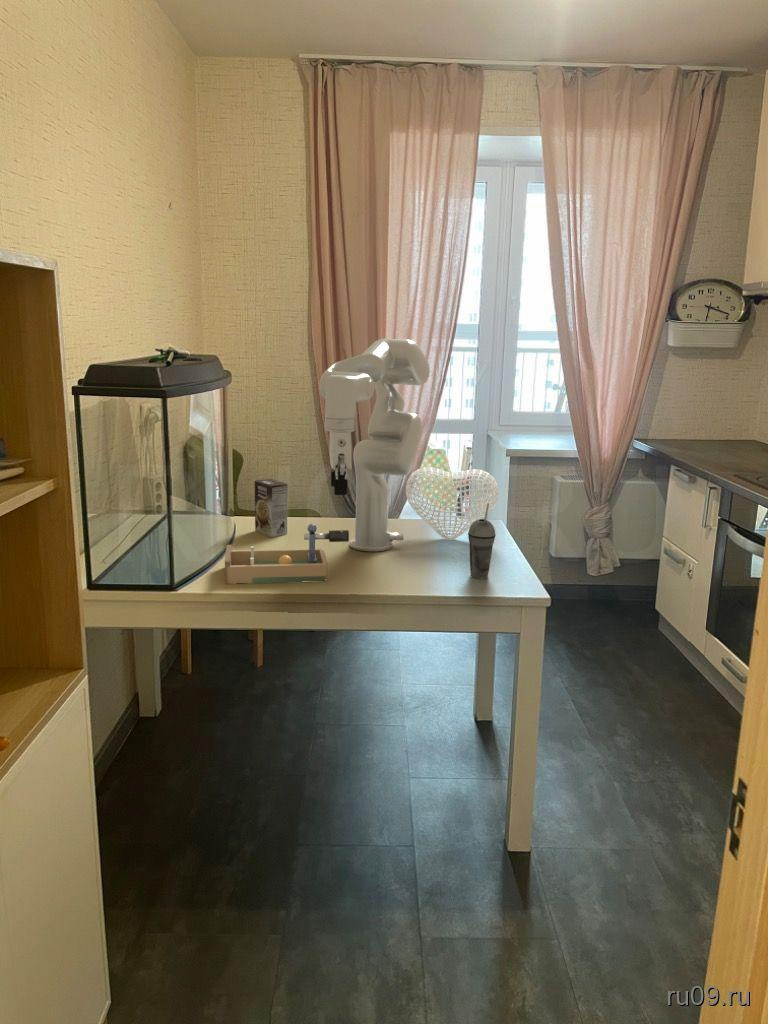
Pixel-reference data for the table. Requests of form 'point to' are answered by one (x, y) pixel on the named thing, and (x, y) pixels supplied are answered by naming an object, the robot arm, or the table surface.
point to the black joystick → (312, 536)
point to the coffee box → (271, 507)
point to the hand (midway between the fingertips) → (338, 490)
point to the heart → (448, 474)
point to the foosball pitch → (273, 566)
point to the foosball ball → (285, 560)
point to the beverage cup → (481, 546)
